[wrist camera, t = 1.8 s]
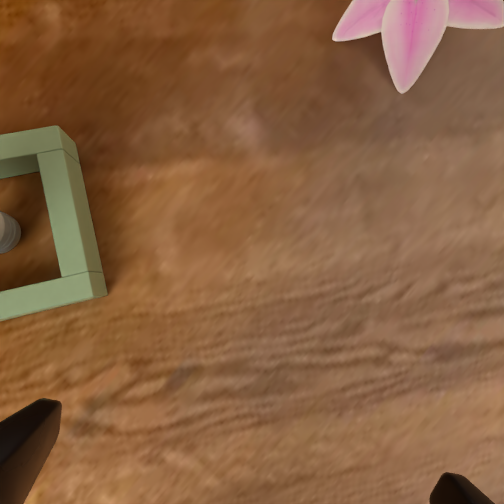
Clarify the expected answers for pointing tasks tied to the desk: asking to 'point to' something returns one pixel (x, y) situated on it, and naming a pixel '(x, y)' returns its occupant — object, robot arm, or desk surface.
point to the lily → (414, 28)
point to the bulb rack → (55, 221)
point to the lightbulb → (8, 232)
